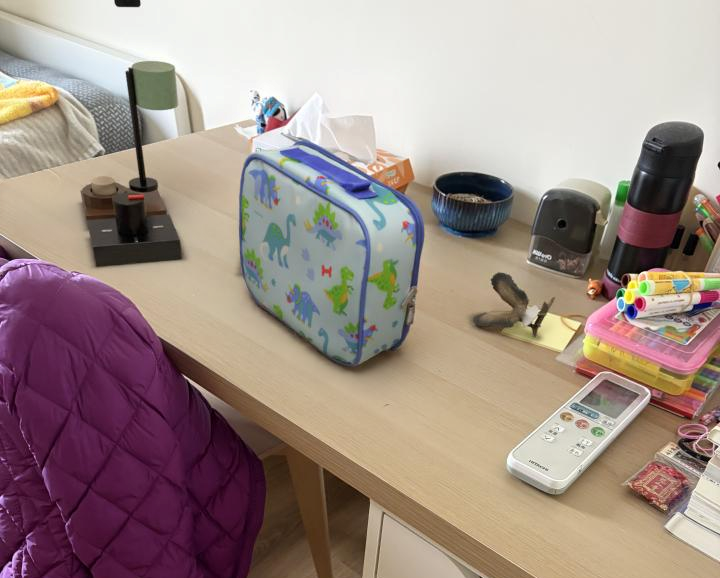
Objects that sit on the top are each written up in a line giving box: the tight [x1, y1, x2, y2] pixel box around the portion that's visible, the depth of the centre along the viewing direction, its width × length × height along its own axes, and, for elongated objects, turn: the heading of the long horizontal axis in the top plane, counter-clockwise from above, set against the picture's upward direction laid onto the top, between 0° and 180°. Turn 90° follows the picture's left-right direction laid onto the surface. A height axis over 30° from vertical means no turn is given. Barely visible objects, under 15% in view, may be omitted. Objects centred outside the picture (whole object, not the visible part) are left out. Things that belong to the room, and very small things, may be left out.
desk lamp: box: [124, 60, 179, 193], centre depth 108 cm, size 9×6×17 cm
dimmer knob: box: [112, 193, 148, 236], centre depth 102 cm, size 4×4×5 cm
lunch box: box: [238, 140, 426, 367], centre depth 87 cm, size 26×11×21 cm, turn 40°
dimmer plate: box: [86, 213, 183, 267], centre depth 105 cm, size 12×9×3 cm
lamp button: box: [90, 175, 117, 195], centre depth 111 cm, size 4×4×2 cm
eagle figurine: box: [473, 271, 556, 338], centre depth 95 cm, size 8×7×9 cm
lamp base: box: [79, 182, 168, 231], centre depth 113 cm, size 12×10×4 cm
